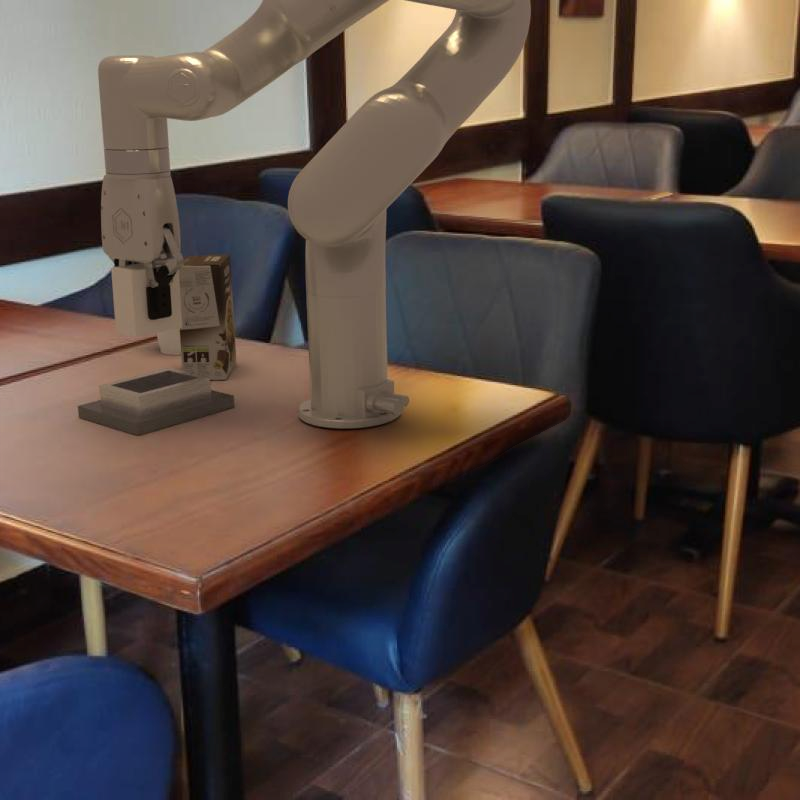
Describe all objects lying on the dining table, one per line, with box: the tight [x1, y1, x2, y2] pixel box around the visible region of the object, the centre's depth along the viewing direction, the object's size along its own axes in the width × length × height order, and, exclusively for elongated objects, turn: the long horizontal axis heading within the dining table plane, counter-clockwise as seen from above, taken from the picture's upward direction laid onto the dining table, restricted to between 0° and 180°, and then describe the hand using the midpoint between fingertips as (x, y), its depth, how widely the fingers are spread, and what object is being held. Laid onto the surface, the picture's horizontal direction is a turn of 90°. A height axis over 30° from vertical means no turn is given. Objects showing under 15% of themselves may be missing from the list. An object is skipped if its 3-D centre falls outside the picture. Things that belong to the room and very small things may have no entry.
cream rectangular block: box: [110, 263, 182, 338], centre depth 147 cm, size 7×4×8 cm, turn 138°
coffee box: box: [179, 253, 237, 381], centre depth 167 cm, size 9×6×16 cm
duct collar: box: [77, 367, 235, 437], centre depth 150 cm, size 12×15×4 cm
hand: (148, 313), depth 147 cm, fingers closed on cream rectangular block, 4 cm apart
